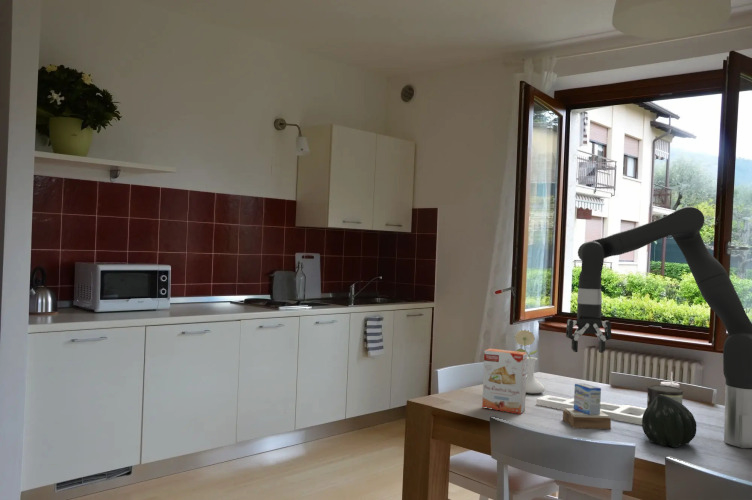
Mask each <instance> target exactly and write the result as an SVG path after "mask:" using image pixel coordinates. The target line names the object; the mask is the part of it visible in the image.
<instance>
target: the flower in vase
mask: <svg viewBox="0 0 752 500" xmlns="http://www.w3.org/2000/svg"><path fill="white" fill-rule="evenodd" d="M514 340H515V341H516V344H518V345H521V346H523V347H526V346H531V345H533V344H534V342H535V341H536V338H535V335H534V334H533V332H531V331H530V330H526V329H524V330H523V329H521V330H519V331H516V334H515V335H514ZM516 351H517V352H526V353H527V364H526V365H527V374H526V394H541V393H543V392H545V391H546V389H545V387H544V385H543V384H542V383H541V382H540V381H538V379H536V377H535V372H534V371H535V365H536V362H537V361H538V357H532V356H530V355H534V354H536V353H537V352H538V351H539V349H536V350H533V351H530V352H529V353H528V351H527V350H526V348H523V349H522V348H517V350H516Z"/></svg>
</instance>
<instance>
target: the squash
mask: <svg viewBox="0 0 752 500" xmlns="http://www.w3.org/2000/svg"><path fill="white" fill-rule="evenodd" d="M645 408H646V410H645V412H644V414H643V417H642V425H641V427H642V430H643V433H644V435H645V436H646V437H647V439H648V440H649V441H650V442H652V443H654V444H658V445H660V446H663V447H668V446H669V447H672V448H678V447H680V446H681V445H683V446H684V445H688V444H689V443H691V441H692V440H693V439H694V438H695V437H696V435H697V421H696V418H695V416H694V415H693V413H692V412H691V411H690V410H689V409H688V408H687V407H686V406H685V405H684V404H683V403H682V404H681V403H680V402H678V401H676V400H674V399H672V398H670V397H667V396H664V395H660V394H659V395H658V396H657V397H656V398H655V399H654V401H653V402H652V403H651V404H650V405H649V406H648V407H647V406H646V407H645Z"/></svg>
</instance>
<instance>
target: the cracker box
mask: <svg viewBox="0 0 752 500" xmlns="http://www.w3.org/2000/svg"><path fill="white" fill-rule="evenodd" d="M527 353H528V352H527ZM527 353H526V351H525V352H517V350H515V351H514V350H508V349H507V350H506V349H499V348H490V347H489V348H487V349H485V350H484V353H483V379H482V380H483V381H482V403H481V405H482V407H487V408H492V409H495V410H494V411H498V410H500V411H499V412H504V411H506V412H505V413H510V412H511V413H512V414H516V413H517V415H521V414H522V413H524V412H525V411H526V394H527V393H526V377H527V365H528V364H527V357H528V355H527ZM511 413H510V414H511Z"/></svg>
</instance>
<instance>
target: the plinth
mask: <svg viewBox="0 0 752 500" xmlns="http://www.w3.org/2000/svg"><path fill="white" fill-rule="evenodd" d="M562 421H564V422H565V423H566V424H568V426H570V427H571V428H573V429H590V430H591V429H592V430H593V429H595V430H601V429H602V430H610V429H612V427H611V425H612V419H611V418H610V417H609V416H608V415H606V414H605V413H603V412H601V411H600V414H598V415H588V414H585V413H582V412H579V411H576V410H574V409H572V408H565V410H562Z"/></svg>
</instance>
